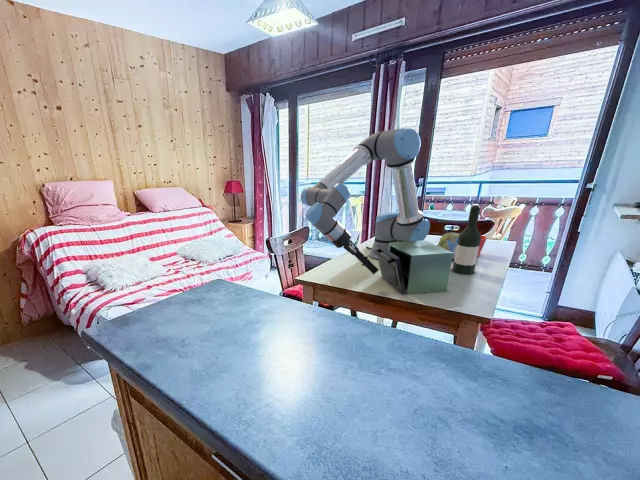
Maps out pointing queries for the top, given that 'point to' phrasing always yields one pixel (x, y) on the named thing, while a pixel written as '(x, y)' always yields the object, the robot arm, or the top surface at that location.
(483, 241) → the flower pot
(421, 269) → the oven
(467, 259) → the wine bottle
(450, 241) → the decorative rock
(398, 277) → the oven door
